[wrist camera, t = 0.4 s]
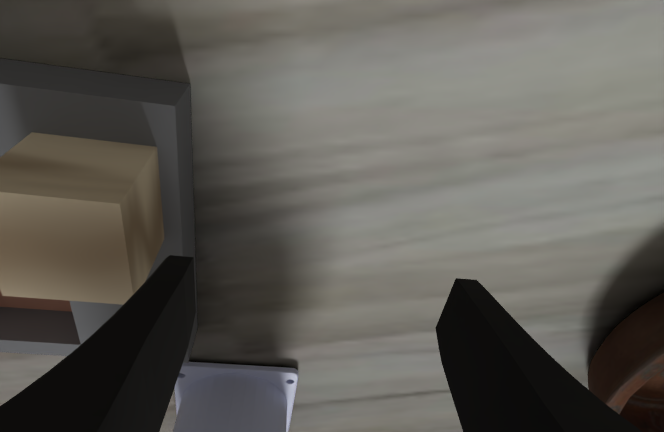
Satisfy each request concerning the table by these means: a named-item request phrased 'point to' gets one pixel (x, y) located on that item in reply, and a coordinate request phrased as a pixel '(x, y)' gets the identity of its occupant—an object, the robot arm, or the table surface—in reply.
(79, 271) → the maple block
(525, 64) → the table surface
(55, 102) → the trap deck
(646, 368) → the dish
